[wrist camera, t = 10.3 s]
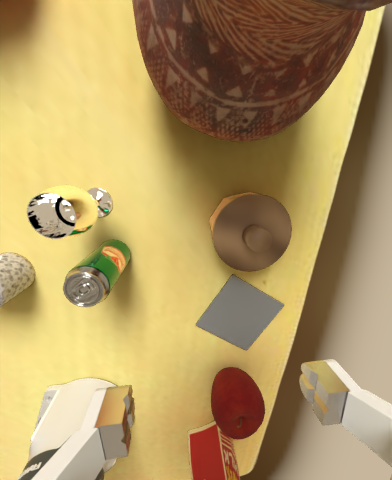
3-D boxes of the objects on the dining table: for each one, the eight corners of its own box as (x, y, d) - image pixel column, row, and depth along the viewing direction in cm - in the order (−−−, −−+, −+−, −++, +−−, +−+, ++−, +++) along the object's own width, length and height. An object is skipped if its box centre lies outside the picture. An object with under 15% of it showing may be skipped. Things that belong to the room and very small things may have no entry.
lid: (265, 278, 32) (277, 291, 28) (200, 253, 30) (202, 264, 27) (302, 211, 30) (319, 217, 26) (232, 180, 28) (240, 181, 24)
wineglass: (118, 186, 32) (83, 192, 20) (115, 223, 33) (81, 247, 22) (78, 180, 31) (18, 181, 20) (77, 217, 33) (22, 239, 21)
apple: (257, 359, 43) (279, 410, 34) (245, 394, 46) (262, 451, 36) (213, 353, 42) (222, 405, 32) (202, 389, 45) (208, 447, 35)
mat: (246, 349, 42) (246, 350, 42) (195, 323, 40) (196, 325, 39) (283, 304, 40) (284, 305, 39) (232, 274, 37) (233, 275, 37)
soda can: (137, 256, 35) (116, 294, 24) (113, 272, 36) (82, 317, 24) (117, 232, 34) (84, 260, 22) (93, 249, 34) (49, 286, 23)
